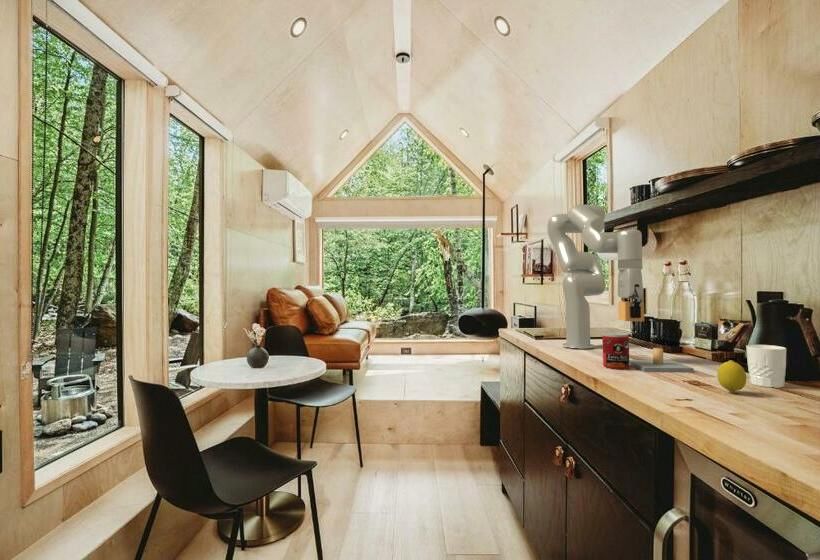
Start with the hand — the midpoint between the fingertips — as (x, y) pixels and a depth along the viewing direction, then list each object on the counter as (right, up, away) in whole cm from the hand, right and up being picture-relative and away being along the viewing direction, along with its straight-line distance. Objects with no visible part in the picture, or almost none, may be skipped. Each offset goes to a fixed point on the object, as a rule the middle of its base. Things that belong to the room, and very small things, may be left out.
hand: (631, 316), depth 138 cm
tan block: (0, -1, 0) cm, 1 cm away
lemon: (+2, -15, -41) cm, 44 cm away
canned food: (-10, -16, -10) cm, 21 cm away
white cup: (+17, -15, -34) cm, 41 cm away
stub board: (+3, -15, -11) cm, 19 cm away
